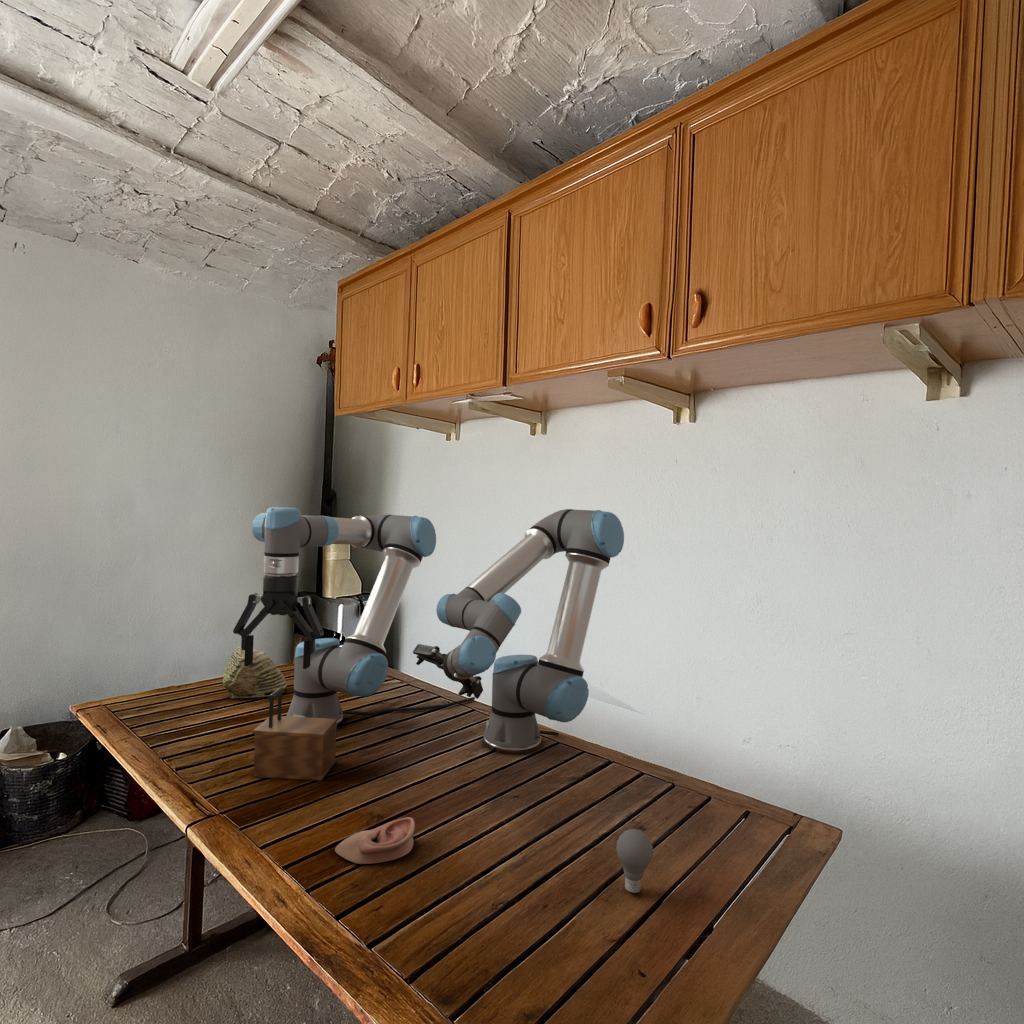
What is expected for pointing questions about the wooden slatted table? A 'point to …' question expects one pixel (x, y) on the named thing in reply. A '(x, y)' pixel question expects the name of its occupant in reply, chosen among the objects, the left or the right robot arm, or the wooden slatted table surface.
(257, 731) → the lid
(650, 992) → the wooden slatted table surface
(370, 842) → the anatomical model
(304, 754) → the chest
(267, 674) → the fossil
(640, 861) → the light bulb
